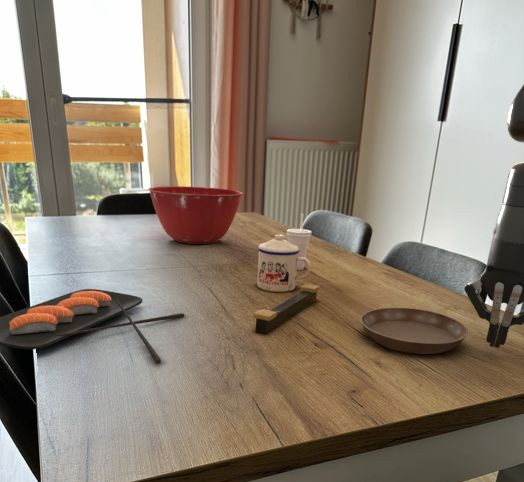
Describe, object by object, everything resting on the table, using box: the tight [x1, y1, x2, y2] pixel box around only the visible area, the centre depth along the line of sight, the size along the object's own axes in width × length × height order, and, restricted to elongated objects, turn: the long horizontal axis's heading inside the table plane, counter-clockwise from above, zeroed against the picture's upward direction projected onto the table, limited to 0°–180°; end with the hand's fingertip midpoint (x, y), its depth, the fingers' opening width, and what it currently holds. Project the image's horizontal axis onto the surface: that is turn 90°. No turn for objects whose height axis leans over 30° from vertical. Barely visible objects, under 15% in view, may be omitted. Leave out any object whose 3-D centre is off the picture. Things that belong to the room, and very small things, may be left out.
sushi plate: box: [0, 288, 185, 364], centre depth 84 cm, size 29×30×4 cm
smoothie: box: [286, 212, 313, 271], centre depth 132 cm, size 6×6×14 cm
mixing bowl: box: [147, 185, 243, 245], centre depth 160 cm, size 28×28×16 cm
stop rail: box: [253, 283, 321, 335], centre depth 97 cm, size 3×24×3 cm, turn 154°
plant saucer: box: [360, 307, 469, 355], centre depth 88 cm, size 18×18×3 cm
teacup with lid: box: [256, 234, 312, 293], centre depth 113 cm, size 12×9×12 cm
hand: (494, 345), depth 83 cm, fingers closed
